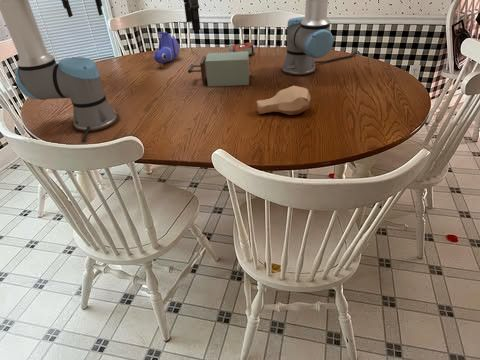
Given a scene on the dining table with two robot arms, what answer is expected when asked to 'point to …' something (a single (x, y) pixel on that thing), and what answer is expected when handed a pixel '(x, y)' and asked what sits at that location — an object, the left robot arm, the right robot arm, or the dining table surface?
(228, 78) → the pale green box
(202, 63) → the drawer
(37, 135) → the dining table surface
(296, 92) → the squash
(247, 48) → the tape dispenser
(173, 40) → the toy
